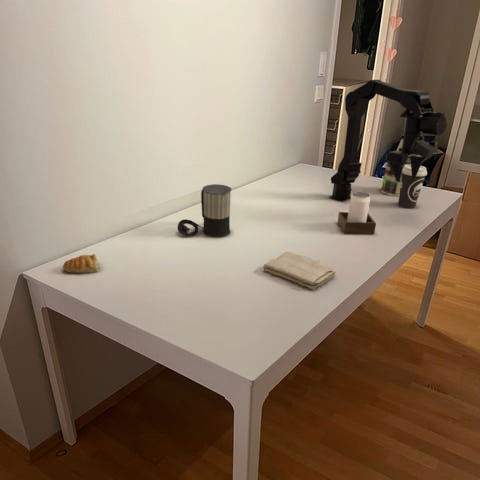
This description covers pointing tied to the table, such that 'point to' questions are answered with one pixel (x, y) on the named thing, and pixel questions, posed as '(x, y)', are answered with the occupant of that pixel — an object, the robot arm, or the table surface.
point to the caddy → (356, 225)
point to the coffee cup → (410, 186)
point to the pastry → (82, 264)
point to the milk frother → (212, 212)
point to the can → (358, 207)
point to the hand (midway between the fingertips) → (405, 179)
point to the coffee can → (392, 181)
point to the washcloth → (300, 269)
